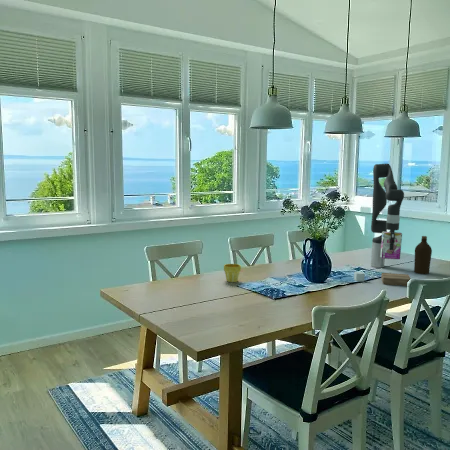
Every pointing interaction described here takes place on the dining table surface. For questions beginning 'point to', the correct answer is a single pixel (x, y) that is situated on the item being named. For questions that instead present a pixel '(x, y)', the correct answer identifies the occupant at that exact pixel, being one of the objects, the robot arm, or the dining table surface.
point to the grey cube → (359, 276)
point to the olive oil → (422, 257)
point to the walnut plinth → (395, 279)
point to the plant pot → (232, 272)
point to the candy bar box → (385, 246)
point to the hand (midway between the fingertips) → (391, 248)
